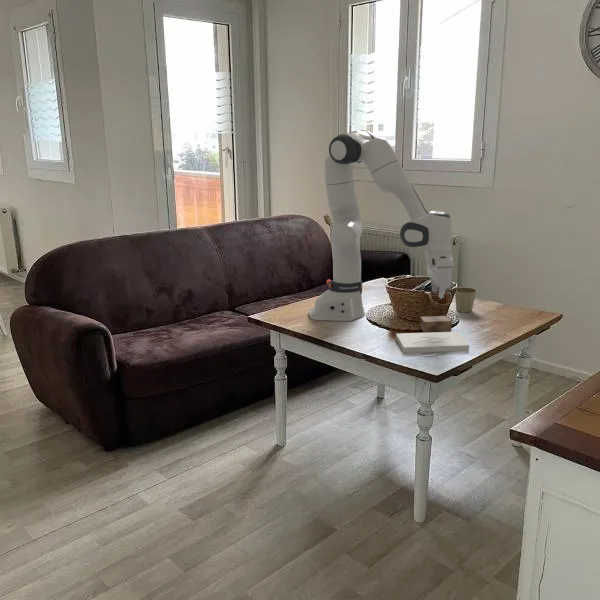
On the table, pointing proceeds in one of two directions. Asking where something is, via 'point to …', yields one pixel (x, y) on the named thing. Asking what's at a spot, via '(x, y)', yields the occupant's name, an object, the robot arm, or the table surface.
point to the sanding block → (435, 324)
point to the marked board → (431, 342)
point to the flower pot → (465, 299)
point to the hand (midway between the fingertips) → (437, 294)
